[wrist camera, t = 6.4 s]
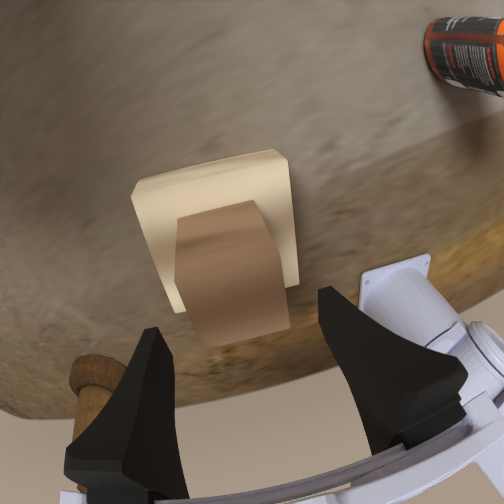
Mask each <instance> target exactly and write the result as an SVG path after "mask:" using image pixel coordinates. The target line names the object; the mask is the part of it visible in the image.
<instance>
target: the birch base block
mask: <svg viewBox="0 0 504 504" xmlns="http://www.w3.org/2000/svg"><path fill="white" fill-rule="evenodd" d="M131 199H132V202H133V205H134V208H135V211H136V214H137V216H138V219H139V222H140V225H141V228H142V231H143V233H144V236H145V239H146V242H147V244H148V247H149V250H150V252H151V255H152V258H153V260H154V263H155V265H156V268H157V270H158V273H159V276H160V278H161V281H162V283H163V285H164V288H165V290H166V293H167V295H168V298H169V300H170V302H171V305H172V307H173V309H174V312H175V313H179V312H184V311H186V309H185V307H184V304H183V302H182V299H181V297H180V295H179V292H178V290H177V287H176V285H175V282H174V270H175V249H176V232H177V218H181V217H185V216H189V215H192V214H196V213H200V212H204V211H208V210H212V209H216V208H220V207H224V206H228V205H232V204H237V203H241V202H245V201H249V200H254V202H255V204H256V206H257V208H258V210H259V212H260V214H261V216H262V218H263V220H264V222H265V224H266V226H267V228H268V230H269V232H270V235H271V237H272V239H273V241H274V243H275V245H276V247H277V249H278V251H279V253H280V256H281V263H282V270H283V277H284V284H285V288H287V287H291V286H295V285H299V273H298V260H297V249H296V237H295V227H294V216H293V206H292V197H291V187H290V178H289V169H288V161H287V160H286V159H285V158H284V157H283V156H282V155H281V154H280V153H278V152H277V151H276V150H275V149H270V150H265V151H259V152H254V153H249V154H244V155H239V156H234V157H229V158H224V159H220V160H215V161H211V162H206V163H202V164H198V165H193V166H189V167H185V168H181V169H177V170H173V171H169V172H166V173H162V174H158V175H154V176H151V177H147V178H143V179H140V180H138V182H137V184H136V187H135V189H134V191H133V193H132V195H131Z"/></svg>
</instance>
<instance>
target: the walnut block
mask: <svg viewBox="0 0 504 504" xmlns="http://www.w3.org/2000/svg"><path fill="white" fill-rule="evenodd" d="M174 282H175V285H176V287H177V290H178V292H179V295H180V297H181V299H182V302H183V304H184V307H185V309H186V311H187V314H188V316H189V318H190V320H191V323H192V325H193V327H194V330H195V332H196V334H197V336H198V338H199V341H200V343H201V345H202V347H203V349H208V348H212V347H217V346H221V345H225V344H230V343H234V342H238V341H242V340H246V339H250V338H254V337H258V336H262V335H266V334H270V333H273V332H277V331H281V330H285V329H288V328H290V321H289V313H288V306H287V298H286V291H285V284H284V277H283V270H282V263H281V256H280V253H279V251H278V249H277V247H276V245H275V243H274V241H273V239H272V237H271V235H270V232H269V230H268V228H267V226H266V224H265V222H264V220H263V218H262V216H261V214H260V212H259V210H258V208H257V206H256V204H255V202H254V200H249V201H245V202H241V203H237V204H232V205H228V206H224V207H220V208H216V209H212V210H208V211H204V212H200V213H196V214H192V215H189V216H185V217H181V218H177V232H176V249H175V270H174Z"/></svg>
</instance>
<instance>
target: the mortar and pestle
mask: <svg viewBox="0 0 504 504" xmlns="http://www.w3.org/2000/svg"><path fill="white" fill-rule="evenodd" d="M125 370H126V368H125V367H124V366H123V365H122V364H120V363H119V362H117V361H115V360H113V359H111V358H108V357H104V356H99V355H84V356H81V357H79V358H77V359H76V360H75V361H74V363H73V365H72V369H71V374H70V378H69V385H70V387H71V389H72V391H73V392H74V393H75V394H76V395H77V397H78V398H79V399H78V405H77V411H76V417H75V425H74V431H73V439H72V442H73V441H74V440H75V439H76V438H77V437H78V436H79V435H80V434H81V433H82V432H83V431H84V430H85V429H86V428H87V427H88V426H89V425H90V424H91V423H92V421H93V420H94V419H95V418H96V416H97V415H98V414H99V413H100V411H101V410H102V409H103V407H104V406H105V404H106V403H107V402H108V400H109V398H110V397H111V395H112V394H113V392H114V391H115V389H116V387H117V385H118V384H119V382H120V380H121V378H122V376H123V374H124V372H125ZM77 489H78V490H79V491H80V492H81V493H85V494H87V488H85V487H83V486H81V485H79V484H78V485H77Z"/></svg>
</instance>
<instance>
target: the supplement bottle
mask: <svg viewBox="0 0 504 504" xmlns="http://www.w3.org/2000/svg"><path fill="white" fill-rule="evenodd" d="M424 47H425V53H426V56H427V60H428V62H429V64H430V67H431V68H432V70H433V71H434V73H435V74H436V75H437V76H438V77H439V78H440V79H441V80H442V81H444V82H445V83H447V84H450V85H454V86H457V87H462V88H467V89H471V90H476V91H480V92H484V93H489V94H492V95H496V96H499V97H503V98H504V18H498V17H445V18H439V19H436V20H434V21H432V22H431V23H430V24H429V26H428V27H427V30H426V32H425V39H424Z"/></svg>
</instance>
